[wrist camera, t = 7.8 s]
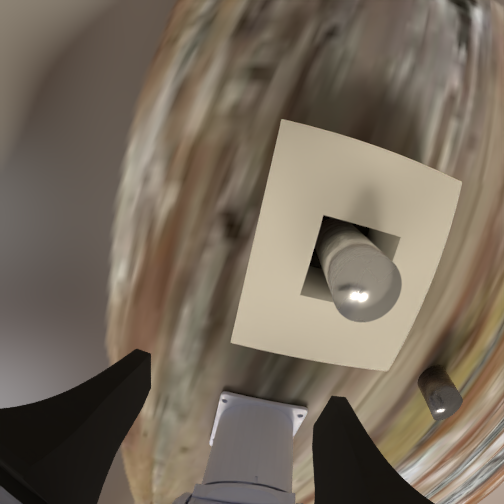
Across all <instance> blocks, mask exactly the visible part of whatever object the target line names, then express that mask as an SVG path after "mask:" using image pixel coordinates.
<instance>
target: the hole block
mask: <svg viewBox="0 0 504 504" xmlns="http://www.w3.org/2000/svg"><path fill="white" fill-rule="evenodd" d="M461 186H462V182H461V181H459V180H457V179H455V178H453V177H451V176H448V175H446V174H444V173H442V172H440V171H438V170H435V169H433V168H431V167H429V166H426V165H424V164H422V163H419V162H417V161H414V160H412V159H409V158H407V157H404V156H402V155H399V154H397V153H394V152H391V151H389V150H386V149H383V148H381V147H378V146H375V145H372V144H369V143H366V142H363V141H360V140H357V139H354V138H351V137H348V136H344V135H341V134H338V133H334V132H331V131H327V130H324V129H320V128H316V127H313V126H309V125H305V124H301V123H297V122H293V121H288V120H284V119H282V120H281V124H280V128H279V133H278V137H277V141H276V146H275V150H274V154H273V159H272V163H271V167H270V172H269V176H268V180H267V185H266V189H265V194H264V198H263V202H262V207H261V211H260V215H259V220H258V224H257V228H256V233H255V237H254V242H253V246H252V250H251V255H250V259H249V263H248V268H247V272H246V276H245V281H244V285H243V290H242V294H241V298H240V303H239V307H238V311H237V316H236V320H235V325H234V329H233V333H232V338H231V342H230V343H234V344H238V345H242V346H246V347H250V348H254V349H259V350H263V351H268V352H272V353H277V354H282V355H287V356H291V357H297V358H302V359H307V360H313V361H318V362H324V363H330V364H336V365H343V366H349V367H356V368H364V369H372V370H380V371H388V370H389V369H390V367H391V365H392V363H393V362H394V360H395V358H396V356H397V354H398V352H399V351H400V349H401V347H402V345H403V343H404V341H405V339H406V337H407V335H408V333H409V331H410V329H411V327H412V325H413V323H414V321H415V319H416V317H417V315H418V312H419V310H420V308H421V306H422V303H423V301H424V299H425V297H426V294H427V292H428V289H429V287H430V285H431V282H432V280H433V277H434V274H435V272H436V269H437V266H438V264H439V261H440V258H441V255H442V252H443V250H444V247H445V244H446V240H447V237H448V234H449V231H450V228H451V224H452V221H453V217H454V214H455V210H456V206H457V202H458V198H459V194H460V190H461ZM323 215H325V216H329V217H333V218H336V219H340V220H344V221H347V222H351V223H354V224H358V225H361V226H365V227H368V228H370V229H369V232H368V235H367V238H368V239H369V240H370V241H371V242H372V243H373V244H374V245H375V246H376V247H377V248H378V249H380V250H381V251H382V252H383V253H384V254H385V255H386V256H387V257H388V258H389V259H390V260H391V261H392V262H393V263H394V264H395V265H396V266H397V268H398V270H399V272H400V275H401V279H402V288H401V293H400V296H399V298H398V300H397V302H396V304H395V305H394V307H393V308H392V309H391V310H390V311H389V312H388V313H387V314H385V315H384V316H382V317H381V318H379V319H377V320H374V321H370V322H354V321H351V320H349V319H347V318H345V317H344V316H342V315H341V314H340V313H339V311H338V310H337V308H336V306H335V304H334V301H333V298H332V295H331V292H330V289H329V286H328V284H327V281H326V278H325V275H324V272H323V269H320V268H315V267H311V266H309V264H310V261H311V257H312V254H313V251H314V247H315V244H316V240H317V237H318V233H319V230H320V226H321V222H322V219H323Z"/></svg>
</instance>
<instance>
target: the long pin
mask: <svg viewBox="0 0 504 504" xmlns="http://www.w3.org/2000/svg"><path fill="white" fill-rule="evenodd" d="M315 250H316V253H317V255H318V258H319V261H320V264H321V266H322V269H323V272H324V275H325V278H326V281H327V284H328V286H329V289H330V292H331V295H332V298H333V301H334V304H335V306H336V308H337V310H338V311H339V313H340V314H341V315H342V316H344V317H345V318H347V319H349V320H351V321H354V322H370V321H374V320H377V319H379V318H381V317H382V316H384V315H385V314H387V313H388V312H389V311H390V310H391V309H392V308H393V307H394V305H395V304H396V302H397V300H398V298H399V296H400V293H401V288H402V279H401V275H400V272H399V270H398V268H397V266H396V265H395V264H394V263H393V262H392V261H391V260H390V259H389V258H388V257H387V256H386V255H385V254H384V253H383V252H382V251H381V250H380V249H378V248H377V247H376V246H375V245H374V244H373V243H372V242H371V241H370V240H369V239H368V238H367V237H365V236H364V235H363V234H362V233H361V232H360V231H359V230H358V229H357V228H355V227H354V226H353V225H352V224H351V223H350V222H347V221H344V220H340V219H336V218H331V219H328V220H326V221H324V222H323V223H321V226H320V230H319V233H318V237H317V240H316V244H315Z"/></svg>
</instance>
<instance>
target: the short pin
mask: <svg viewBox="0 0 504 504" xmlns="http://www.w3.org/2000/svg"><path fill="white" fill-rule="evenodd" d="M418 386H419V388H420V390H421V393H422V395H423V397H424V399H425V401H426V403H427V405H428V407H429V409H430V412H431V414H432V416H433V418H434V419H435V420H443V419H446V418H448V417H450V416H451V415H453V414H454V413H455V412H456V411H457V410H458V409H459V408H460V406H461V404H462V402H463V399H462V397H461V395H460V394H459V392H458V390H457V389H456V387H455V385H454V384H453V382H452V380H451V379H450V377H449V376H448V374H447V372H446V371H445V369H444V368H443V367H442V366H440V365H435V366H432V367H430V368H428V369H427V370H426V371H424V372H423V373H422V374H421V376H420V377H419V379H418Z"/></svg>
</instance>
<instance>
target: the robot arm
mask: <svg viewBox="0 0 504 504" xmlns="http://www.w3.org/2000/svg"><path fill="white" fill-rule="evenodd" d="M150 389H151V354H150V353H147V352H145V351H142V350H139V349H135V350H134V351H132V352H131V353H129V354H128V355H127V356H125V357H124V358H122V359H121V360H119V361H118V362H116V363H115V364H114V365H112V366H111V367H109V368H107V369H106V370H104V371H103V372H101V373H100V374H98V375H97V376H95V377H93V378H91V379H89V380H87V381H86V382H84V383H82V384H80V385H79V386H76V387H74V388H72V389H70V390H68V391H66V392H63V393H61V394H59V395H56V396H53V397H50V398H48V399H45V400H42V401H38V402H35V403H31V404H27V405H22V406H17V407H11V408H3V409H0V504H97V502H98V499H99V496H100V493H101V490H102V487H103V484H104V482H105V479H106V476H107V474H108V471H109V469H110V466H111V464H112V461H113V459H114V457H115V454H116V452H117V450H118V449H119V447H120V445H121V443H122V441H123V440H124V438H125V436H126V435H127V433H128V431H129V430H130V428H131V426H132V425H133V423H134V421H135V419H136V418H137V416H138V414H139V413H140V411H141V409H142V407H143V405H144V403H145V401H146V398H147V396H148V394H149V391H150ZM224 399H226V400H224ZM307 413H308V409H307V408H306V407H303V406H296V405H290V404H284V403H279V402H273V401H268V400H263V399H258V398H253V397H249V396H244V395H240V394H235V393H231V392H227V391H224V392H222V393H221V395H220V400H219V404H218V408H217V412H216V417H215V421H214V425H213V429H212V434H211V438H210V442H209V444H210V445H211V446H212V448H211V452H210V455H209V459H208V463H207V466H206V470H205V474H204V477H203V481H202V484H195V488H194V491H193V493H189V492H186V493H184V494H182V495H181V496H179V497H177V498H176V499H175V500H174V501H173V503H172V504H295V493H292V469H293V437H294V435H295V434H296V432H297V430H298V429H299V427H300V425H301V423H302V422H303V420H304V418H305V416H306V415H307ZM299 414H301V415H299ZM312 451H313V467H314V483H315V503H314V504H435V503H433V502H431V501H430V500H429V499H427V498H426V497H424V496H423V495H422V494H420V493H419V492H418V491H417V490H415V489H414V488H413V487H412V486H411V485H410V484H409V483H407V482H406V481H405V480H404V479H403V478H402V477H401V476H400V475H399V474H398V473H397V472H396V471H395V469H394V468H393V467H392V466H391V465H390V464H389V463H388V461H387V460H386V459H385V458H384V456H383V455H382V454H381V452H380V451H379V450H378V448H377V447H376V446H375V444H374V443H373V441H372V440H371V438H370V437H369V435H368V434H367V432H366V430H365V429H364V427H363V426H362V424H361V422H360V421H359V419H358V417H357V416H356V414H355V412H354V411H353V409H352V407H351V405H350V404H349V402H348V400H347V399H346V397H338V396H331V398H330V400H329V401H328V403H327V405H326V406H325V408H324V410H323V411H322V413H321V414H320V416H319V418H318V419H317V421H316V422H315V424H314V428H313V443H312ZM296 504H303V503H296Z"/></svg>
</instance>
